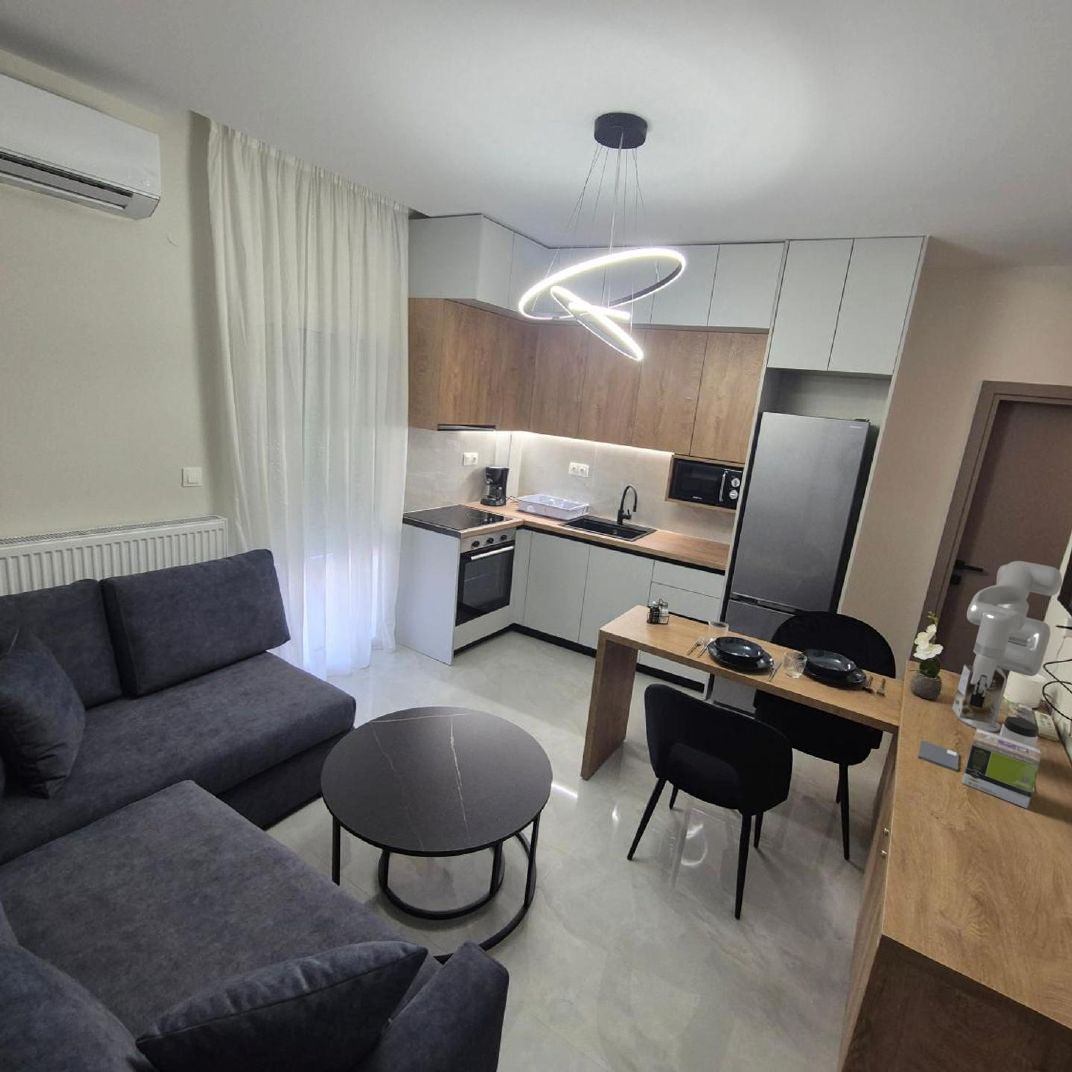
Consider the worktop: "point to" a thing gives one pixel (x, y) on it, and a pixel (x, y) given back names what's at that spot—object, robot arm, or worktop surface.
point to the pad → (939, 755)
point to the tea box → (1002, 767)
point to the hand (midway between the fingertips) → (975, 700)
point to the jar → (1020, 730)
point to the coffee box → (965, 693)
